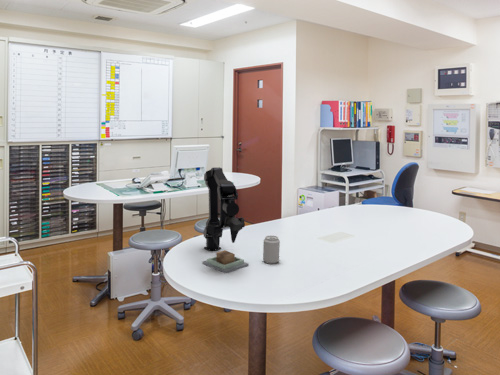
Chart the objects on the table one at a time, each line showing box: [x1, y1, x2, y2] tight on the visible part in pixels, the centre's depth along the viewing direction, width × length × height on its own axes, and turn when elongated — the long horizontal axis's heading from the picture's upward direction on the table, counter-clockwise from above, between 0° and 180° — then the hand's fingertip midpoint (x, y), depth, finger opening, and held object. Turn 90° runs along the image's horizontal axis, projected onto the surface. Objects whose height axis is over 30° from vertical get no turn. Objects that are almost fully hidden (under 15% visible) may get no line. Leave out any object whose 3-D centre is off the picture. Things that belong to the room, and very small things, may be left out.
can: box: [262, 235, 281, 265], centre depth 194 cm, size 8×8×12 cm
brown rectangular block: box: [215, 249, 236, 265], centre depth 189 cm, size 7×5×4 cm
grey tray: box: [201, 256, 249, 274], centre depth 189 cm, size 16×14×2 cm
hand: (225, 244), depth 187 cm, fingers open, 9 cm apart
